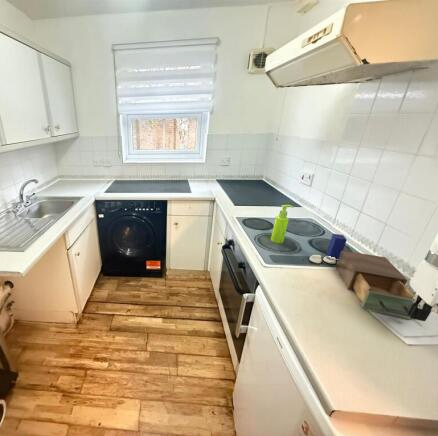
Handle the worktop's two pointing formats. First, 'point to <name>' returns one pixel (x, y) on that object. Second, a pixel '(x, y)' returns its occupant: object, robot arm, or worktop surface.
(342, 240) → the box
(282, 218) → the soap dispenser
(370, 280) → the drawer
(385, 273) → the cabinet
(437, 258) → the robot arm
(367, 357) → the worktop surface
